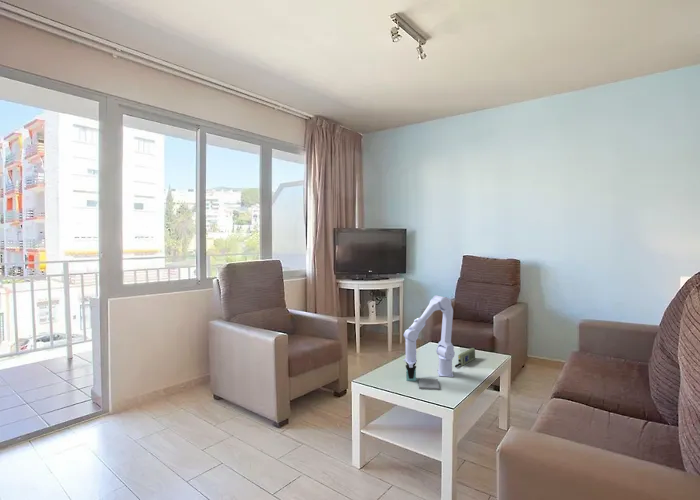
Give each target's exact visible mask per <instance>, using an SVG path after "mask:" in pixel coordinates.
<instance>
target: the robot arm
mask: <svg viewBox="0 0 700 500" xmlns="http://www.w3.org/2000/svg"><path fill="white" fill-rule="evenodd" d="M435 311H441V312H442V321H441V335H440V341H438V343H437V347H436V349H435V352H436V354H437V355H438V369H437V375H438V377H447V378H448V377H450V378H451V377H453V378H454V373H453V359H454V358H455V350H454V349H455V348H454V347H455V346H454V345H453V343H452V332H453V318H454V308H453V306H452V301H451V300H450V298H448V297H447V296H446V297H445V296H440V295H437V294H435V295H434V296H433V297H432V298H431V299H430V300H429V304H428V305H427V307H426V308H425V310H424V311H423V313H422V314H421V316H420V317H417V318H416V319H414V320H413V323H412V324H411V325H410V326H408V329H405V331H404V333H403V337H404V340H405V358H403V362H405V363H406V364H405V370H406V369H407V371H408V376H409V379H413V377H414V371H415V369H416V370H417V365H416V364H417V362H418V361H417V340H418V339H419V334H420V332H421V331H422V330H423V329H424V327H425V326H426V322H427V320H428V319H429V318H430V317H431V316H432V314H434V313H435Z"/></svg>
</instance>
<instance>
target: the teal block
mask: <svg viewBox="0 0 700 500" xmlns="http://www.w3.org/2000/svg"><path fill="white" fill-rule="evenodd" d="M405 370H406V371H405V372H406V373H405V374H406V377H405V378H406V381H408V382H416V381H417V374H416V373H417V371H416V370H417V368H416V369H415V371H414V377H413V379H409V376H408V371H407V369H406V368H405Z"/></svg>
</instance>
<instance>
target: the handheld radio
mask: <svg viewBox="0 0 700 500" xmlns="http://www.w3.org/2000/svg"><path fill="white" fill-rule="evenodd" d="M457 357H458V358H457V359H458V363H457V364H455V365H454V367H455V368H457V367H460V365H461V367H462V366H464V364H465V365H467V364H468V363H469V361H470V362H472V361H474V360H475V359H476V349H475V348H474V347H470V348H469V349H467V350H465V351H463V352H461V353H458V355H457ZM471 360H472V361H471Z"/></svg>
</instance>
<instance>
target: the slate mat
mask: <svg viewBox="0 0 700 500" xmlns="http://www.w3.org/2000/svg"><path fill="white" fill-rule="evenodd" d="M418 389H419V390H435V391H439V390H440V385H439V379H437V378H418Z"/></svg>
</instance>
